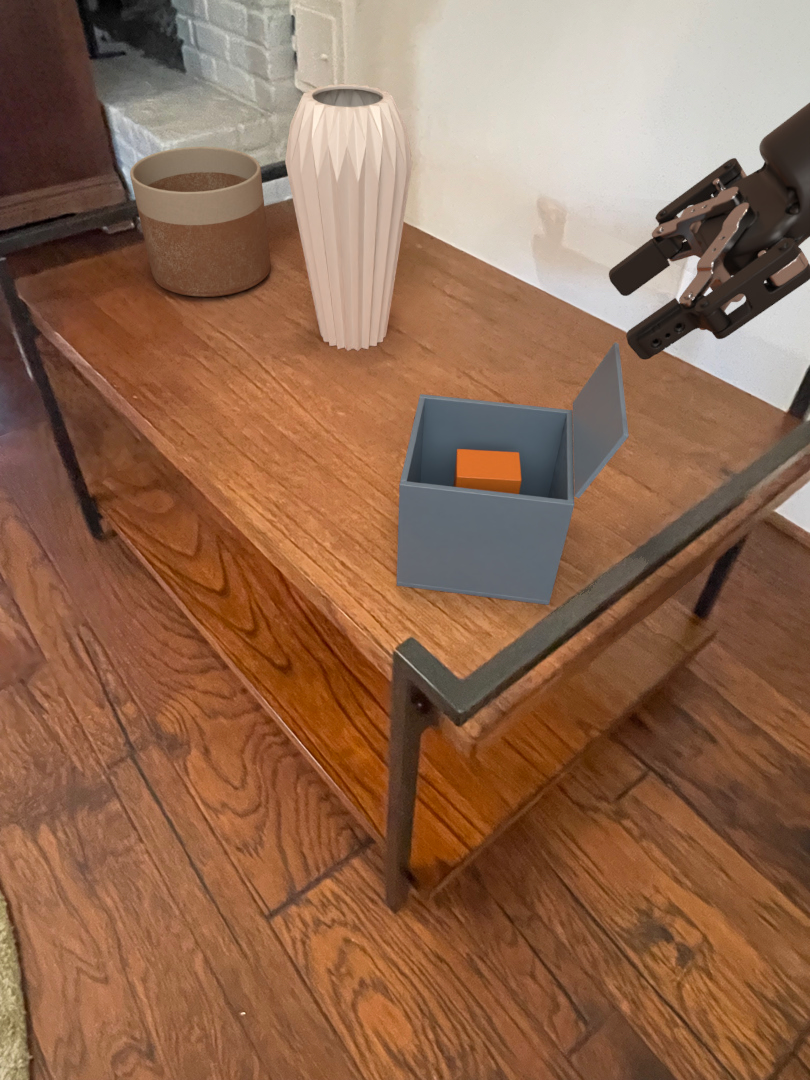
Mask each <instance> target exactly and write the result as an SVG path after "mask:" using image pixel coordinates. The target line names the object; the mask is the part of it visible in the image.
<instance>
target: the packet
mask: <svg viewBox="0 0 810 1080" xmlns="http://www.w3.org/2000/svg"><path fill="white" fill-rule="evenodd" d="M521 481H522V480H521V468H520V456H519V452H503V451H485V450H467V449H457V453H456V463H455V474H454V484H453V487H460V488H469V489H477V490H486V491H494V492H503V493H512V494H519V492H520V486H521Z"/></svg>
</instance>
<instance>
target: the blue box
mask: <svg viewBox="0 0 810 1080" xmlns="http://www.w3.org/2000/svg"><path fill="white" fill-rule="evenodd" d="M457 449H467V450H485V451H503V452H519V456H520V468H521V480H522V481H521V486H520V492H519V494H512V493H503V492H494V491H486V490H477V489H469V488H460V487H453V484H454V474H455V463H456V453H457ZM574 509H575V495H574V448H573V409H566V408H565V409H564V408H556V407H546V406H537V405H529V404H518V403H510V402H499V401H490V400H479V399H472V398H462V397H454V396H453V397H452V396H444V395H434V394H423V393H420V394H419V397H418V402H417V405H416V409H415V415H414V419H413V423H412V428H411V432H410V436H409V441H408V445H407V449H406V454H405V457H404V463H403V466H402V471H401V476H400V480H399V485H398V518H397V520H398V521H397V524H398V525H397V549H396V550H397V552H396V553H397V555H396V583H395V584H396V586H397V587H403V588H404V587H405V588H411V589H420V590H428V591H435V592H444V593H450V594H457V595H458V594H459V595H467V596H474V597H483V598H491V599H497V600H506V601H515V602H521V603H528V604H529V603H530V604H538V605H543V606H545V605H546V606H549V605H550V603H551V599H552V594H553V590H554V586H555V583H556V579H557V575H558V570H559V567H560V564H561V560H562V555H563V552H564V548H565V544H566V540H567V535H568V531H569V528H570V524H571V521H572V515H573V513H574Z"/></svg>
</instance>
